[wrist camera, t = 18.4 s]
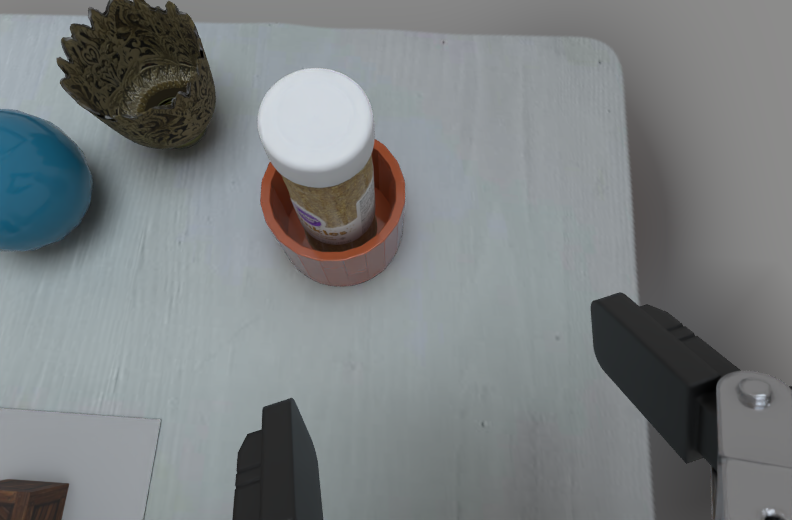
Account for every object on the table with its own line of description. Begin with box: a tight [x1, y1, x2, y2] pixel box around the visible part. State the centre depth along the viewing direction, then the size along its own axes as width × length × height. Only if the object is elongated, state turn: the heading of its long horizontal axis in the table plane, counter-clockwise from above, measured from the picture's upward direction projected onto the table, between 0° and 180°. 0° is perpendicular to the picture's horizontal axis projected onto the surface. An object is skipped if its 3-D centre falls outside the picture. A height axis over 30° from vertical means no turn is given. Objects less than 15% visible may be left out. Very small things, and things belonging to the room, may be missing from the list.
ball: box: [0, 109, 93, 251], centre depth 30 cm, size 8×8×8 cm
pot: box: [260, 139, 405, 286], centre depth 31 cm, size 8×8×6 cm
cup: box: [57, 0, 216, 149], centre depth 32 cm, size 8×7×8 cm
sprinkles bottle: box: [257, 68, 377, 252], centre depth 27 cm, size 5×5×13 cm
